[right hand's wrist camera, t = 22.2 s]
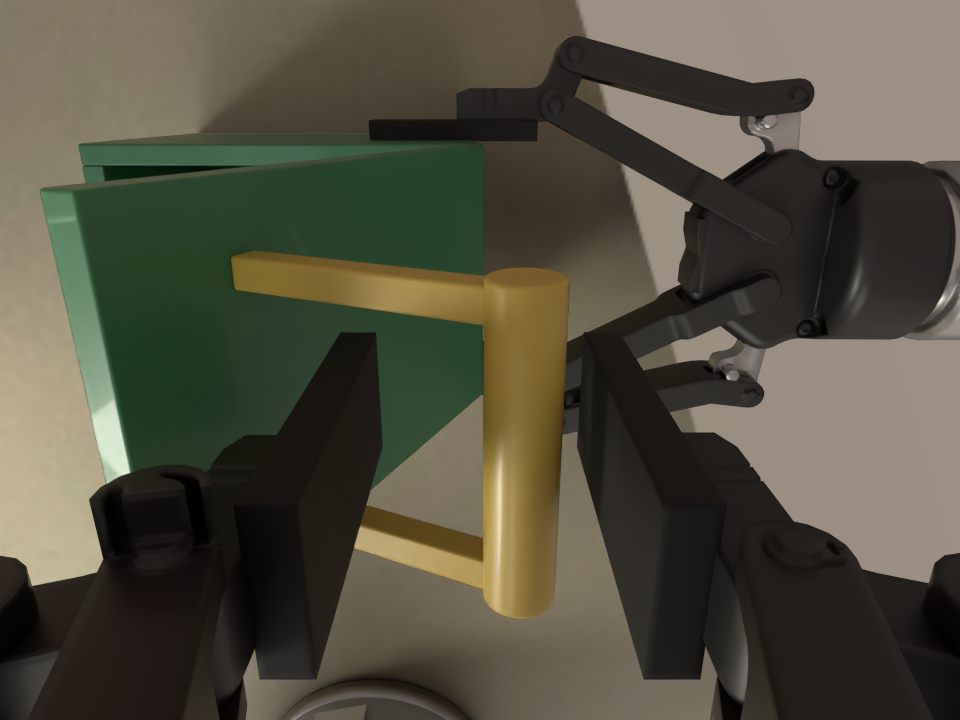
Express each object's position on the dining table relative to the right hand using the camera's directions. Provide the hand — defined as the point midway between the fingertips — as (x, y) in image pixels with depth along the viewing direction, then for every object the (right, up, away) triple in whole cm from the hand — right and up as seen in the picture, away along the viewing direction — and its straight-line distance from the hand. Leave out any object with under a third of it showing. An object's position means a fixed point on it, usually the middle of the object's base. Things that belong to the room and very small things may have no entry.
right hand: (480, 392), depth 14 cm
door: (-4, +1, +4) cm, 6 cm away
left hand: (-4, +5, +14) cm, 16 cm away
